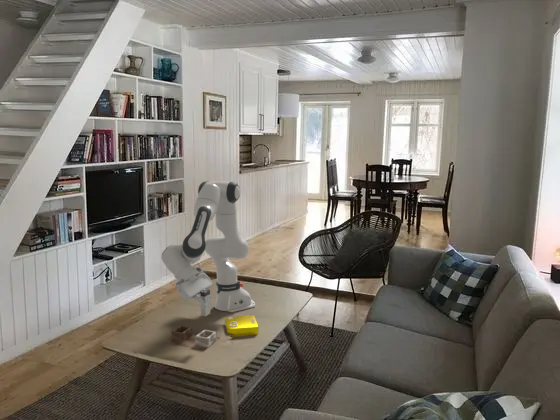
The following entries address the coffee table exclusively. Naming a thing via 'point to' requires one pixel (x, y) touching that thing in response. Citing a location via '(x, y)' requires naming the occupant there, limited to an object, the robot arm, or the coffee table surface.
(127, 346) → the coffee table surface
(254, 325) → the element tile
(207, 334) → the caddy
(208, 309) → the brushed metal bar
